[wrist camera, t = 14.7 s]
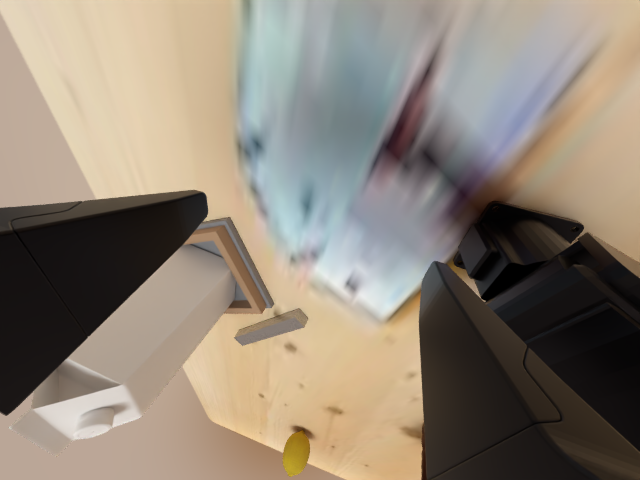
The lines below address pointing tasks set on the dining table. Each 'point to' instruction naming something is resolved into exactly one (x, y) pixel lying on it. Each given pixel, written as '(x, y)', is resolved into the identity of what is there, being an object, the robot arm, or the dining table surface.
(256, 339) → the steel rail
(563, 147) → the dining table surface
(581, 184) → the dining table surface
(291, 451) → the lemon
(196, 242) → the brown and grey tray
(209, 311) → the milk carton
